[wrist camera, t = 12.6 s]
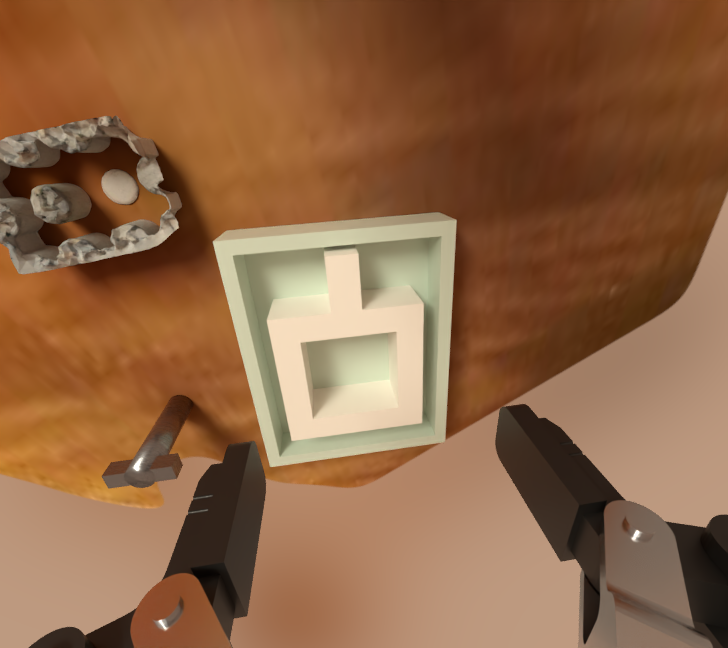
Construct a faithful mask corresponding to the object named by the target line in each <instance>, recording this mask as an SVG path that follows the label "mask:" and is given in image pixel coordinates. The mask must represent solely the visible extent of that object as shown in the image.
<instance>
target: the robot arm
mask: <svg viewBox="0 0 728 648" xmlns="http://www.w3.org/2000/svg"><path fill="white" fill-rule="evenodd" d="M496 450H497V454H498V457H499V459H500V461H501V463H502V464H503V466H504V467H505V469H506V471H507V473H508V474H509V476H510V477H511V479H512V481H513V483H514V484H515V486H516V487H517V489H518V491H519V493H520V494H521V496H522V498H523V499H524V501H525V503H526V504H527V506H528V508H529V509H530V511H531V513H532V514H533V516H534V518H535V519H536V521H537V522H538V524H539V526H540V528H541V529H542V531H543V533H544V534H545V536H546V538H547V539H548V541H549V543H550V544H551V546H552V548H553V549H554V551H555V553H556V554H557V556H558V558H559V559H560V561H567V560H572V559H576V560H577V561H578V563H579V565H580V566H581V568H582V571H581V574H580V605H579V642H578V648H728V515H718V516H715V517H713V518H712V519H711V520H710V522H709V524H708V525H707V527H706V528H703V527H697V526H691V525H684V524H677V523H671V522H666V521H664V520H663V519H662V518H661V517H659V516H658V515H657V514H656V513H654V512H653V511H651V510H650V509H648V508H646V507H644V506H642V505H640V504H637V503H634V502H631V501H626V500H625V499H624V498H623V497H622V496H621V495H620V494H619V493H618V492H617V490H616V489H615V488H614V487H613V486H612V485H611V484H610V483H609V481H608V480H607V479H606V478H605V477H604V476H603V475H602V474H601V473H600V471H599V470H598V469H597V468H596V467H595V466H594V465H593V464H592V462H591V461H590V460H589V459H588V458H587V457H586V456H585V455H583V454H582V451H581V450H580V449H579V448H578V447H577V446H576V445H575V444H573V442H572V440H571V439H570V438H569V437H568V436H567V435H566V433H565V432H564V431H563V430H562V429H561V428H560V427H558V426H557V425H555V424H554V423H552V422H551V421H549V420H548V419H546V418H538V417H537V416H536V415H535V413H534V412H533V411H532V410H531V409H530V408H529V406H527V405H525V404H520V405H513V406H506V407H502V408H501V409H500V412H499V419H498V426H497V433H496ZM265 494H266V480H265V474H264V470H263V467H262V463H261V460H260V456H259V453H258V449H257V446H256V443H255V442H254V441H250V442H243V443H236V444H230V445H228V447H227V450H226V453H225V456H224V459H223V463H220V464H214V465H211V466H210V467H209V469H208V470H207V471H206V472H205V474H204V475H203V476H202V477H201V479H200V480H199V482H198V485H197V488H196V491H195V493H194V496H193V501H192V502H191V505H190V507H189V510H188V515H187V516H186V518H185V521H184V524H183V527H182V529H181V532H180V535H179V538H178V540H177V543H176V546H175V549H174V552H173V554H172V557H171V560H170V563H169V565H168V568H167V571H166V573H165V575H164V577H163V579H162V581H161V582H159V583H158V584H156V585H155V586H154V587H153V588H152V589H151V590H150V591H149V592H148V593H147V594H146V595H145V597H144V598H143V599H142V601H141V602H140V604H139V605H138V607H137V608H136V609H134V610H133V611H132V612H130V613H128V614H127V615H125V616H123V617H121V618H119V619H117V620H115V621H113V622H111V623H109V624H107V625H105V626H103V627H101V628H99V629H97V630H95V631H93V632H91V633H89V634H87V635H84V634H83V633H82V632H81V631H80V630H79V629H77V628H74V627H65V628H61V629H58V630H55V631H53V632H51V633H49V634H47V635H45V636H44V637H42V638H40V639H39V640H38V641H37V642H35V643H34V644H32V645H31V646H30V647H29V648H233V647H232V645H231V643H230V636H231V630H232V625H233V619H234V618H239V617H245V616H247V614H248V607H249V600H250V593H251V587H252V581H253V574H254V567H255V560H256V554H257V548H258V541H259V534H260V528H261V521H262V515H263V508H264V501H265Z"/></svg>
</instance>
